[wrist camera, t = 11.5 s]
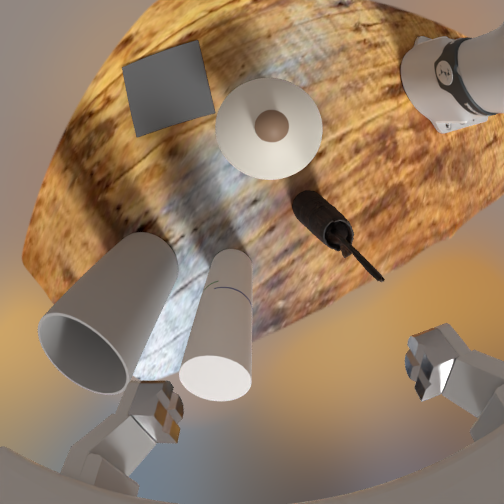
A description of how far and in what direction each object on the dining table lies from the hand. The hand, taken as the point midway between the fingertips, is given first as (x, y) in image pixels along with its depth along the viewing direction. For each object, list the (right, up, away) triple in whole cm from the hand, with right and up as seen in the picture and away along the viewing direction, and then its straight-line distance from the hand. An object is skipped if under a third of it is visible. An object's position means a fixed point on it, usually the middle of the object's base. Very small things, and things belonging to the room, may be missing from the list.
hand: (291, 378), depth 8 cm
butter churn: (+8, +11, +36) cm, 38 cm away
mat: (-15, +29, +28) cm, 43 cm away
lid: (0, +17, +19) cm, 25 cm away
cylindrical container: (-5, +1, +40) cm, 40 cm away
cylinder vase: (-20, +2, +40) cm, 45 cm away
